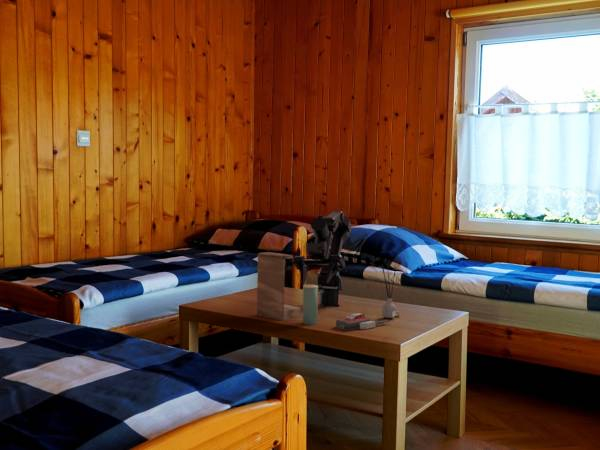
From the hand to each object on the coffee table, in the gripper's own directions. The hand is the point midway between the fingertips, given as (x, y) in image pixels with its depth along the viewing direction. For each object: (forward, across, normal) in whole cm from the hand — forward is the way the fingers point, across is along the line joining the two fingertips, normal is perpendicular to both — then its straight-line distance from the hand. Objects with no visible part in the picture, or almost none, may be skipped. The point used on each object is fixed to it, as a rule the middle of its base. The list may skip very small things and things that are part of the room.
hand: (314, 282), depth 230 cm
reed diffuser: (+4, +22, +20) cm, 30 cm away
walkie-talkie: (+14, +18, +6) cm, 24 cm away
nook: (+11, -14, +5) cm, 18 cm away
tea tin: (+15, +1, +1) cm, 15 cm away
